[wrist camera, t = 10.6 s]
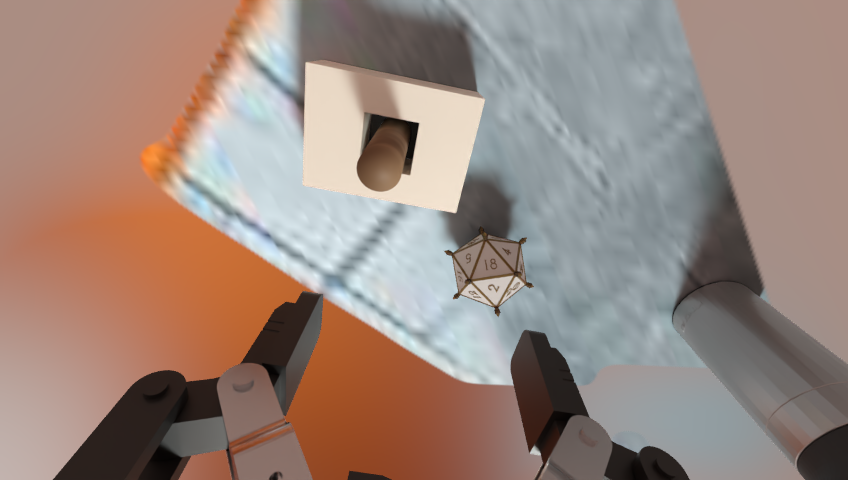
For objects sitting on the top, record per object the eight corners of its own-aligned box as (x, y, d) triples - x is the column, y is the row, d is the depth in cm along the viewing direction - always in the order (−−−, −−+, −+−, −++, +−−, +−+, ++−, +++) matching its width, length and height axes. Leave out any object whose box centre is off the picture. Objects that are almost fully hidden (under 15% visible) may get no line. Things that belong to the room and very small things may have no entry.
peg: (413, 119, 33) (404, 152, 23) (408, 150, 35) (398, 195, 24) (381, 112, 33) (358, 143, 22) (377, 144, 34) (354, 187, 24)
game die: (487, 221, 42) (551, 219, 33) (498, 288, 44) (563, 304, 35) (422, 236, 39) (474, 240, 30) (436, 310, 40) (490, 335, 31)
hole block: (477, 92, 32) (485, 99, 28) (452, 193, 37) (456, 213, 32) (323, 59, 31) (305, 61, 27) (318, 168, 36) (302, 185, 31)
